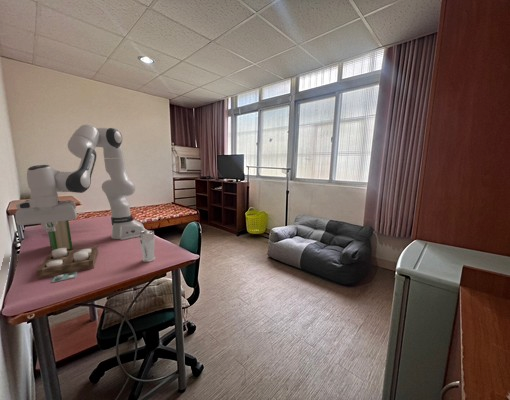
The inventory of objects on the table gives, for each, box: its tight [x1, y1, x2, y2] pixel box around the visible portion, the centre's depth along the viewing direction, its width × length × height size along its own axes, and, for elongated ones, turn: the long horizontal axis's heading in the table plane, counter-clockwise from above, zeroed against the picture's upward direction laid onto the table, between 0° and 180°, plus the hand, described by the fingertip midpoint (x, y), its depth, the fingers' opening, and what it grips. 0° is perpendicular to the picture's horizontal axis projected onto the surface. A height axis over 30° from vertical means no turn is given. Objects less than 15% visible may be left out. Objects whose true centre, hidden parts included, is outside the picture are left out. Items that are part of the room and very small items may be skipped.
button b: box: [51, 248, 68, 259], centre depth 111 cm, size 6×6×3 cm
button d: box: [46, 260, 63, 267], centre depth 103 cm, size 6×6×3 cm
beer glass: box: [139, 229, 156, 263], centre depth 114 cm, size 7×7×15 cm
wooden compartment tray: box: [36, 246, 99, 280], centre depth 110 cm, size 20×20×4 cm
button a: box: [78, 248, 92, 253], centre depth 116 cm, size 6×6×3 cm
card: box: [51, 271, 79, 284], centre depth 98 cm, size 8×6×1 cm
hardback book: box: [46, 220, 73, 251], centre depth 129 cm, size 18×7×24 cm, turn 50°
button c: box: [73, 251, 89, 262], centre depth 107 cm, size 6×6×3 cm
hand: (51, 231), depth 101 cm, fingers closed
